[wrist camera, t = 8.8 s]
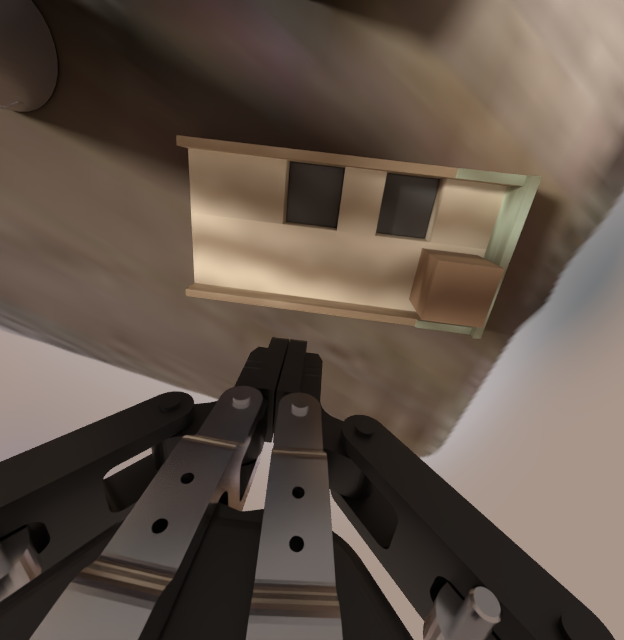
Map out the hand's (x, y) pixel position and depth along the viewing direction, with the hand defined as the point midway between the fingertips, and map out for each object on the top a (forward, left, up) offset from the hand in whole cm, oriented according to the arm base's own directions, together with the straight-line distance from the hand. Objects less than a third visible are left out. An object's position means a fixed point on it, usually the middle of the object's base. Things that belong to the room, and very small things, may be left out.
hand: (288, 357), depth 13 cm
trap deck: (-2, +2, -20) cm, 20 cm away
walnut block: (0, +12, -18) cm, 21 cm away
